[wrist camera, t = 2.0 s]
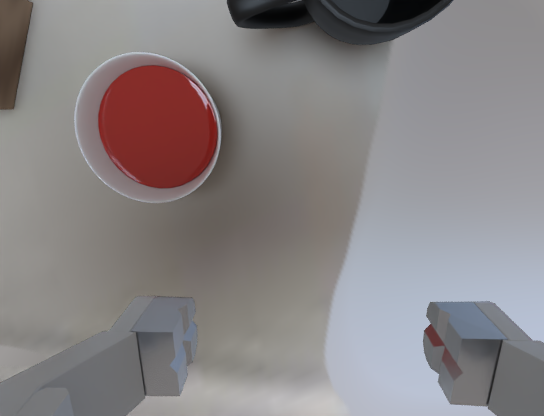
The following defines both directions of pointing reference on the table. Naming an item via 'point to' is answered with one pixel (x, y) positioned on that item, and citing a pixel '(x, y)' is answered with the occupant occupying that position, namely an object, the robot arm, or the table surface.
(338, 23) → the mug
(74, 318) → the table surface
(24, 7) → the block
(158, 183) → the candle
